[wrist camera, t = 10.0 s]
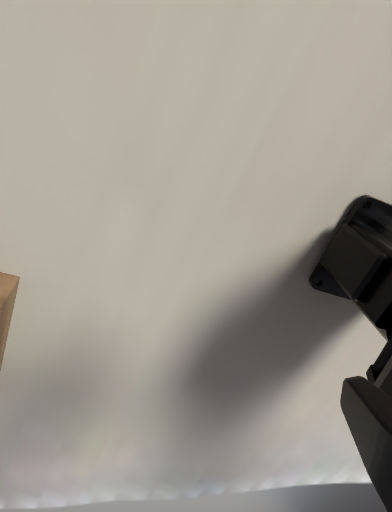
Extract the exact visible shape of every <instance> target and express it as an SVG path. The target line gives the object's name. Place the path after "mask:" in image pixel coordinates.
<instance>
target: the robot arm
mask: <svg viewBox="0 0 392 512" xmlns="http://www.w3.org/2000/svg"><path fill="white" fill-rule="evenodd" d="M365 202H368V204H367V205H366V206H365V207H363V205H364V204H365ZM317 280H320V281H319V282H317V283H316V281H317ZM309 283H310V285H311V286H312V287H313V288H314V289H316V290H319V291H323V292H326V293H330V294H333V295H336V296H340V297H343V298H347V299H350V300H352V301H353V302H354V303H355V304H356V306H357V307H358V308H359V309H360V310H361V311H362V313H363V314H364V315H365V316H366V317H367V318H368V320H369V321H370V322H371V323H372V324H373V325H374V326H375V328H376V329H377V330H378V331H379V332H380V333H381V335H382V336H383V337H384V338H385V339H386V340H387V343H386V345H385V346H384V348H383V350H382V351H381V353H380V355H379V356H378V358H377V360H376V361H375V363H374V364H373V365H370V367H369V369H368V370H367V372H366V375H367V379H368V380H367V379H365V378H363V377H361V376H356V377H350V378H346V379H345V380H344V381H343V387H342V393H341V400H340V403H341V408H342V411H343V414H344V416H345V419H346V421H347V424H348V426H349V429H350V431H351V434H352V436H353V438H354V441H355V443H356V446H357V448H358V451H359V453H360V456H361V458H362V461H363V463H364V466H365V468H366V470H367V473H368V475H369V477H370V479H371V481H372V483H373V485H374V487H375V489H376V491H377V493H378V494H379V496H380V498H381V500H382V502H383V504H384V506H385V508H386V510H387V512H392V205H391V204H389V203H386V202H384V201H381V200H379V199H376V198H374V197H371V196H369V195H364V196H361V197H360V198H359V199H358V200H357V201H356V203H355V205H354V206H353V208H352V209H351V211H350V213H349V214H348V216H347V218H346V219H345V221H344V223H343V224H342V226H341V227H340V228H339V230H338V231H337V233H336V235H335V236H334V238H333V240H332V241H331V243H330V245H329V246H328V248H327V250H326V251H325V253H324V255H323V256H322V258H321V260H320V262H319V264H318V265H317V267H316V269H315V270H314V272H313V274H312V275H311V277H310V279H309Z"/></svg>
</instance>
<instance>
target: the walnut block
mask: <svg viewBox="0 0 392 512" xmlns="http://www.w3.org/2000/svg"><path fill="white" fill-rule="evenodd" d="M19 278H20V277H18V276H14V275H10V274H6V273H2V272H0V370H1V365H2V360H3V355H4V351H5V346H6V341H7V336H8V331H9V326H10V322H11V317H12V312H13V307H14V302H15V298H16V293H17V288H18V283H19Z"/></svg>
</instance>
